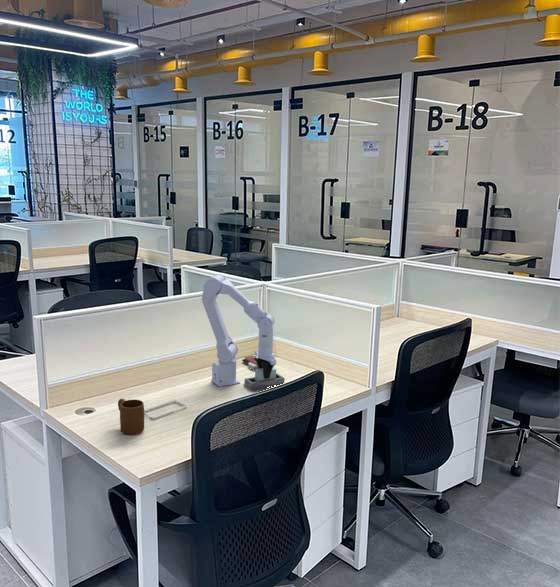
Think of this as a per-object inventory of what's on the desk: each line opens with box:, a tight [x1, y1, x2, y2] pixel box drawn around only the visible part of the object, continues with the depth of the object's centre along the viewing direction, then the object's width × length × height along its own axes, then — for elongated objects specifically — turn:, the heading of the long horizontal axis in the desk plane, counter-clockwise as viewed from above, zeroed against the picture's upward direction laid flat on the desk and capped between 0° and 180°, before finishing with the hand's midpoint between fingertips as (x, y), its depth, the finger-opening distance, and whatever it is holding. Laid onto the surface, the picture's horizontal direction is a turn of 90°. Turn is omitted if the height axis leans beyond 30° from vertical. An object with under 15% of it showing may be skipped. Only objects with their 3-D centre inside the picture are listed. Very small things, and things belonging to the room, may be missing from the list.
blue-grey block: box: [254, 366, 277, 382], centre depth 225 cm, size 8×3×6 cm, turn 120°
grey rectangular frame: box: [144, 399, 188, 420], centre depth 198 cm, size 7×1×15 cm
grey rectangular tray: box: [243, 373, 285, 392], centre depth 226 cm, size 15×8×3 cm, turn 120°
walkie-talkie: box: [242, 354, 259, 371], centre depth 247 cm, size 9×4×20 cm
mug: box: [117, 398, 145, 436], centre depth 183 cm, size 12×8×9 cm, turn 45°
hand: (264, 376), depth 225 cm, fingers closed on blue-grey block, 3 cm apart
